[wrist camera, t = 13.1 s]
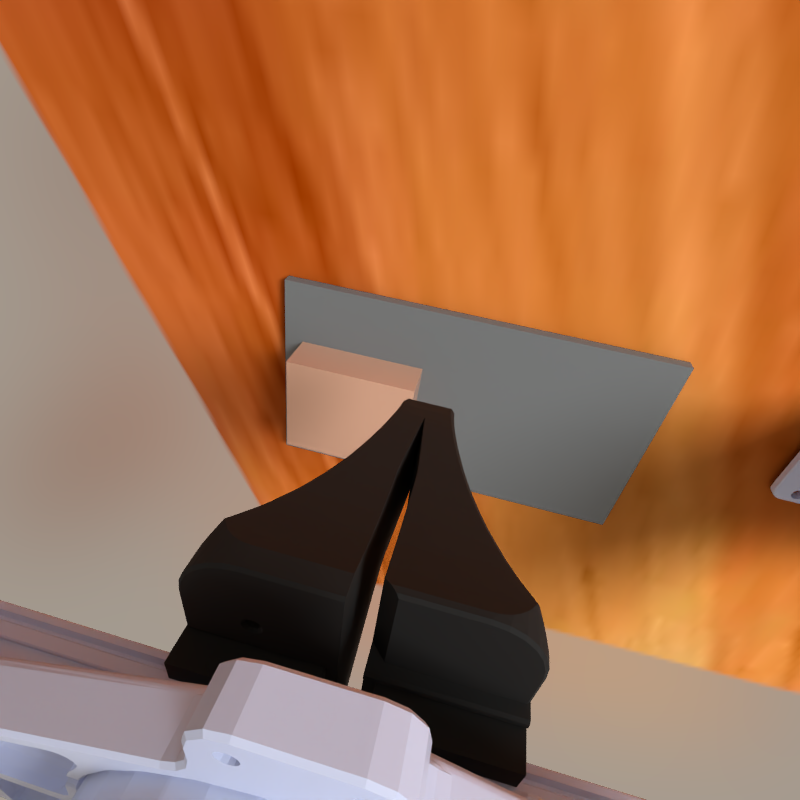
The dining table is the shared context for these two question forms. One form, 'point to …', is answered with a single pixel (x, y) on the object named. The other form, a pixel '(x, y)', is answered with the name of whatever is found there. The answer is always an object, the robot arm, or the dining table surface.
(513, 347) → the mat
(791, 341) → the dining table surface
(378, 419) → the tile
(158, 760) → the robot arm
